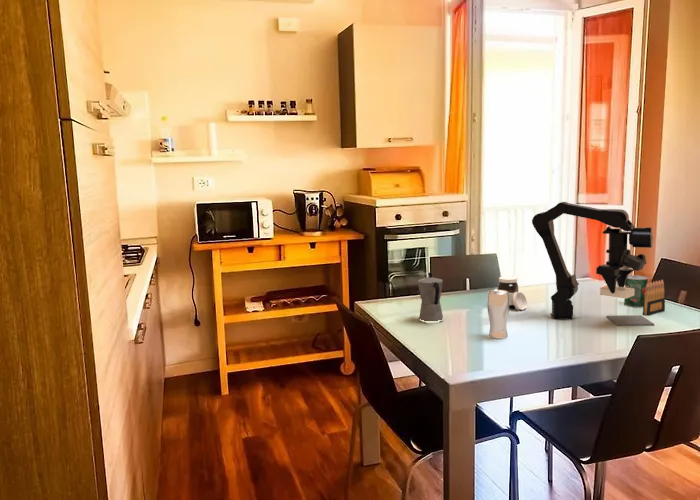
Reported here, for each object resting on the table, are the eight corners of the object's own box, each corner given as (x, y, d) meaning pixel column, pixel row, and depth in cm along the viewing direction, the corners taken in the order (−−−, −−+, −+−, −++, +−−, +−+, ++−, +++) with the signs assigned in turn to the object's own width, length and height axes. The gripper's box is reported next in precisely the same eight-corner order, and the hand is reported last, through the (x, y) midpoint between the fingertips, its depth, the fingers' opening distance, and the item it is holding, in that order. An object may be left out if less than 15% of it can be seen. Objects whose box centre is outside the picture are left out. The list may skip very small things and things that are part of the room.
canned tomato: (650, 307, 215) (652, 278, 213) (629, 307, 215) (630, 279, 214) (640, 302, 223) (641, 274, 221) (620, 302, 223) (621, 275, 222)
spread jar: (500, 303, 230) (500, 274, 229) (529, 305, 225) (529, 276, 224) (494, 310, 220) (494, 280, 218) (524, 312, 215) (524, 282, 213)
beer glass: (485, 333, 190) (485, 289, 188) (506, 332, 190) (506, 289, 187) (489, 339, 183) (489, 294, 181) (511, 339, 183) (511, 294, 181)
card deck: (626, 298, 189) (626, 291, 189) (600, 294, 196) (600, 287, 196) (634, 295, 193) (634, 288, 193) (608, 291, 200) (608, 284, 199)
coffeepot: (413, 316, 214) (412, 270, 211) (437, 314, 216) (436, 268, 213) (425, 327, 199) (424, 277, 196) (451, 325, 201) (450, 276, 198)
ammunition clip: (647, 315, 204) (648, 283, 202) (642, 314, 205) (643, 282, 204) (664, 311, 209) (666, 279, 207) (659, 310, 211) (661, 278, 209)
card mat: (617, 325, 193) (617, 324, 193) (606, 317, 204) (606, 315, 204) (654, 325, 192) (654, 323, 192) (641, 316, 202) (641, 315, 202)
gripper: (629, 252, 180) (628, 299, 182) (654, 245, 192) (653, 290, 194) (595, 249, 189) (595, 295, 191) (621, 242, 200) (620, 286, 203)
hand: (617, 291), depth 194 cm, fingers closed on card deck, 6 cm apart
